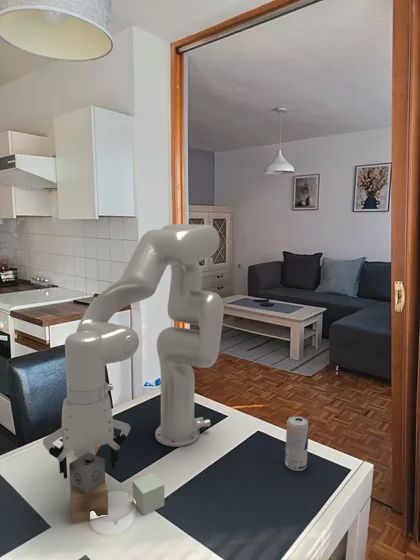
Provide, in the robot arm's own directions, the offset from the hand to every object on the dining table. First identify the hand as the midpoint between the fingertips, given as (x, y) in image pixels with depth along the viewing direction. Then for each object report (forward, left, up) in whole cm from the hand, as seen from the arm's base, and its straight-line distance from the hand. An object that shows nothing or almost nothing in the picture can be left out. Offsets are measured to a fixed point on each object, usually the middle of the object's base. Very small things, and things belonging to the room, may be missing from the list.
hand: (89, 469), depth 84 cm
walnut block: (0, 0, -9) cm, 9 cm away
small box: (-2, -24, -9) cm, 25 cm away
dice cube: (0, 0, -3) cm, 3 cm away
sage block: (-12, +3, -9) cm, 15 cm away
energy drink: (-50, +2, -9) cm, 51 cm away
